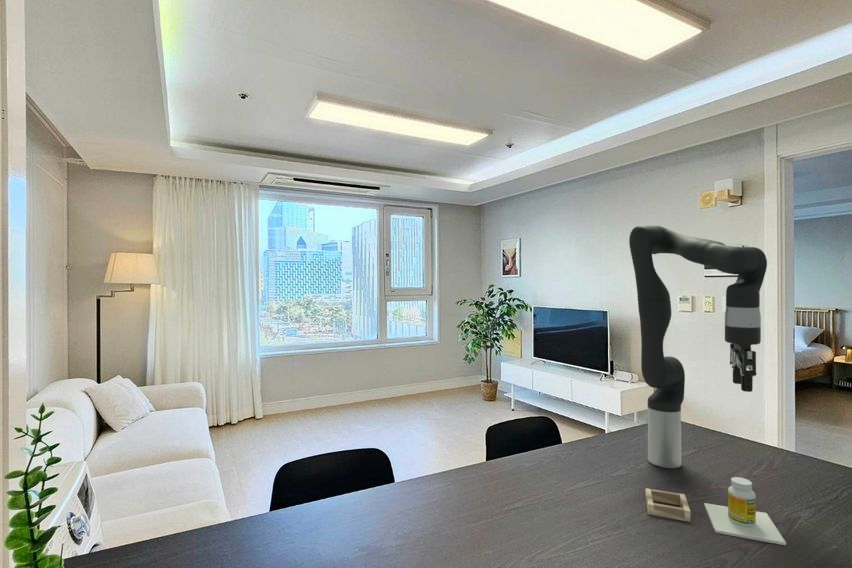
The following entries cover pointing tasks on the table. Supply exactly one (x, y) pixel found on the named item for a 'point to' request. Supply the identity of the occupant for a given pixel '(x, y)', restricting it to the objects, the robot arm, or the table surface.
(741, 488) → the supplement bottle
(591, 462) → the table surface
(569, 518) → the table surface
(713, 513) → the coaster plate
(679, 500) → the collar
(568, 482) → the table surface
